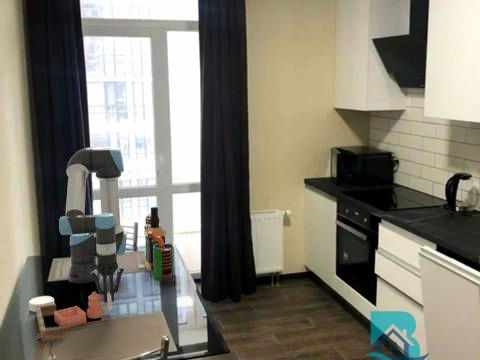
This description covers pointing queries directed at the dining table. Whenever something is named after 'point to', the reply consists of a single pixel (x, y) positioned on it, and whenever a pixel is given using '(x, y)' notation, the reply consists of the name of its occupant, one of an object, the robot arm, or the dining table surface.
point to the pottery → (79, 313)
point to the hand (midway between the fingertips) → (109, 309)
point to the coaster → (40, 302)
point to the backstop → (45, 333)
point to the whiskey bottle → (152, 237)
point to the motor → (162, 260)
